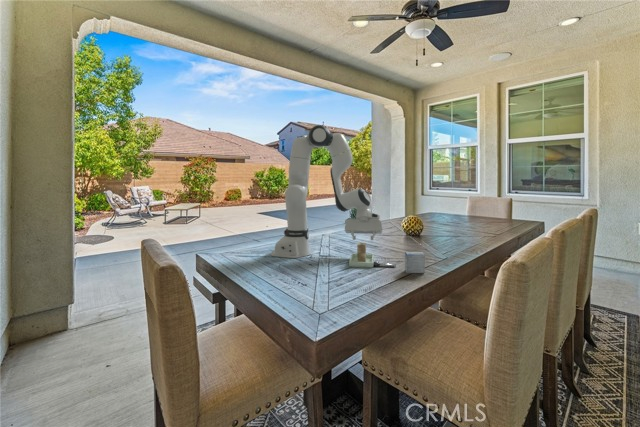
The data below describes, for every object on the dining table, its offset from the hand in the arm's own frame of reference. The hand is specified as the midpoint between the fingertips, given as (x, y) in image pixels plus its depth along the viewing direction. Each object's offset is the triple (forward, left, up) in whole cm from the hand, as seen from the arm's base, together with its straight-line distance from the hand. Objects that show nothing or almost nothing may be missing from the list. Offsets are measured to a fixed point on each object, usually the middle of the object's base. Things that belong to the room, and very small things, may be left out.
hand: (363, 239), depth 162 cm
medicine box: (+24, -23, -10) cm, 34 cm away
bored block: (0, -12, -9) cm, 14 cm away
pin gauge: (+11, -17, -9) cm, 22 cm away
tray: (0, -12, -9) cm, 15 cm away
